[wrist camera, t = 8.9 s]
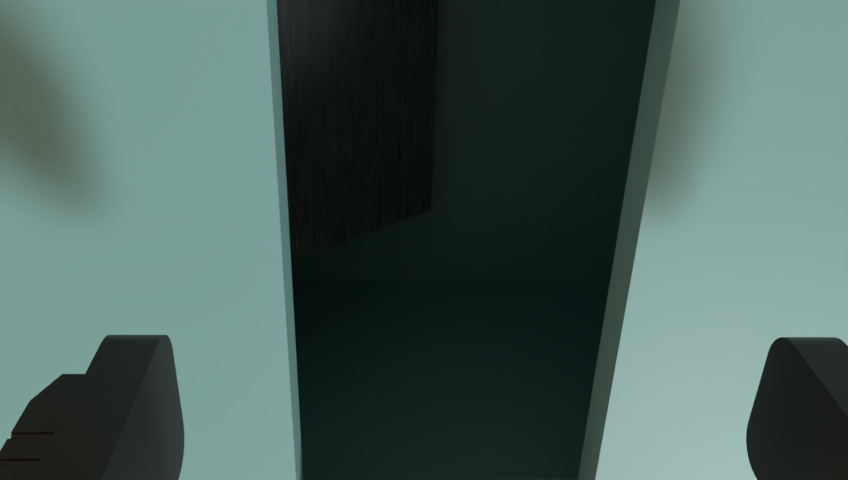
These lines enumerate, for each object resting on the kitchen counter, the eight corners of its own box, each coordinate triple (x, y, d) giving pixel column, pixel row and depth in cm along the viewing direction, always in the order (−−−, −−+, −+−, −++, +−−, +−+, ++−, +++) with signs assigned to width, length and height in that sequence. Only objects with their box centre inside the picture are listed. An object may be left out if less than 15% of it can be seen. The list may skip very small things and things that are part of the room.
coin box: (111, -262, 20) (-246, -333, 9) (744, -239, 21) (1170, -277, 10) (183, 287, 28) (43, 628, 16) (645, 288, 29) (816, 616, 17)
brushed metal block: (366, -63, 22) (110, -39, 18) (440, -46, 20) (172, -15, 16) (367, 175, 25) (152, 241, 21) (431, 210, 23) (207, 290, 19)
